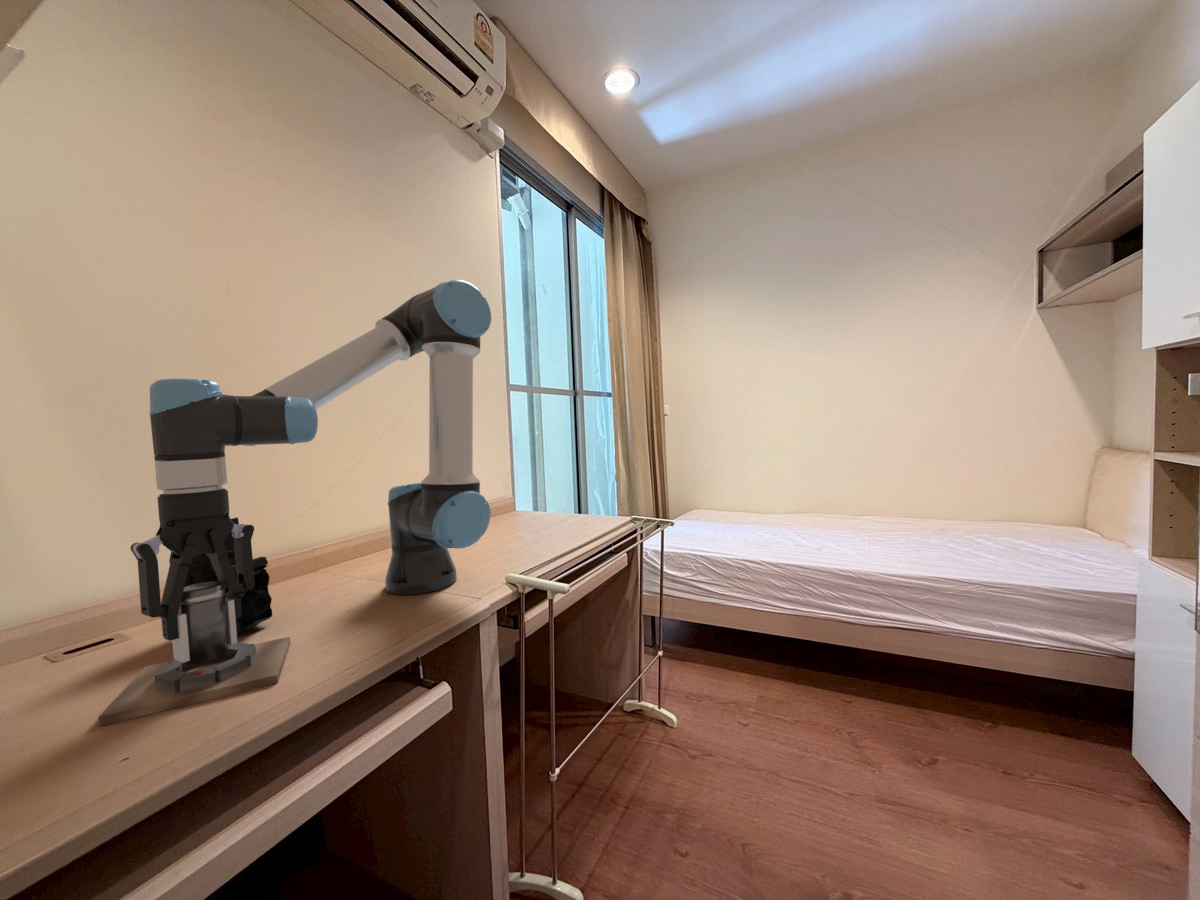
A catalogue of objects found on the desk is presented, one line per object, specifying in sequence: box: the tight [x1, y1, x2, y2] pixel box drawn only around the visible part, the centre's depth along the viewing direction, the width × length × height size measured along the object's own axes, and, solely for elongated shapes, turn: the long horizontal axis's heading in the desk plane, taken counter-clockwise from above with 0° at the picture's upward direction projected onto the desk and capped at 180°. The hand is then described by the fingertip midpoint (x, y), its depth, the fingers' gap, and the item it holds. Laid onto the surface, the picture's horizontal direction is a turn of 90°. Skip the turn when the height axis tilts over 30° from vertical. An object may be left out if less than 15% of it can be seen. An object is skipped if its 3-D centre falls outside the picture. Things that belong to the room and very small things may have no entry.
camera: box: [185, 516, 273, 633], centre depth 83 cm, size 10×14×20 cm
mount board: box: [97, 636, 291, 727], centre depth 67 cm, size 18×14×3 cm
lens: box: [179, 581, 229, 664], centre depth 66 cm, size 6×5×10 cm
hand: (206, 650), depth 66 cm, fingers closed on lens, 5 cm apart
